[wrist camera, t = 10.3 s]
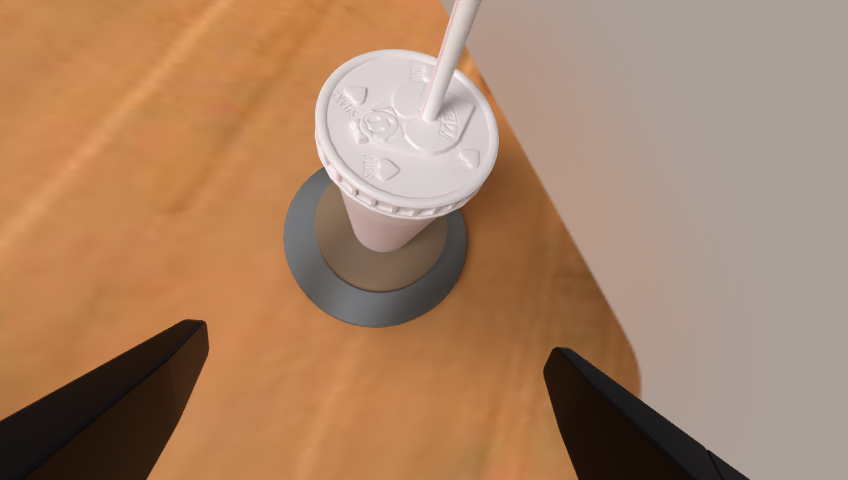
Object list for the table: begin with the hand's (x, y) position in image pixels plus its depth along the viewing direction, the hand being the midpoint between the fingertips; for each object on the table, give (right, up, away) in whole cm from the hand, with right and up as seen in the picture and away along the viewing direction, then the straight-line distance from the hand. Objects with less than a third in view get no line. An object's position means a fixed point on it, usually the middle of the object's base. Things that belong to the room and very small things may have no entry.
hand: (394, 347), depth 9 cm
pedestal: (-2, +3, +15) cm, 15 cm away
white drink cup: (-2, +4, +12) cm, 12 cm away
